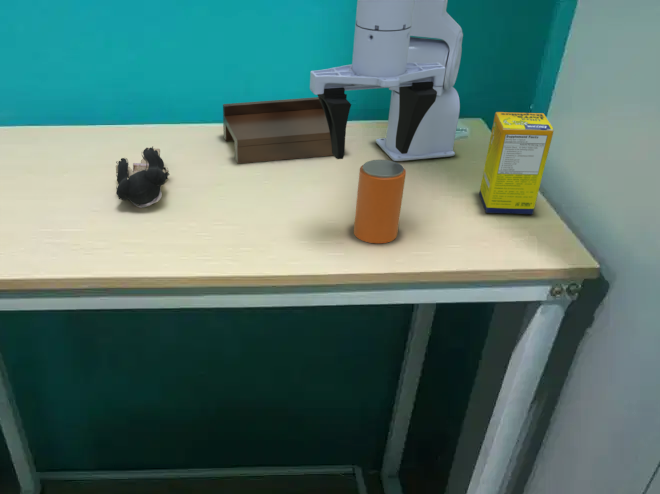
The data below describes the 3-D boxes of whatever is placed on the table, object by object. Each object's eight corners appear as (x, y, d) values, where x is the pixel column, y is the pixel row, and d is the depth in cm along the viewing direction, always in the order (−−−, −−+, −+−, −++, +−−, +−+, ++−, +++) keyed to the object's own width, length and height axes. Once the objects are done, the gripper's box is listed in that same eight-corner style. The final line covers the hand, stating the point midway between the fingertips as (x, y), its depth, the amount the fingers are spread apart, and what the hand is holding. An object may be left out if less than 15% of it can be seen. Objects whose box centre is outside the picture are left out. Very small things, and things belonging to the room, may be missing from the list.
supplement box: (523, 195, 97) (544, 111, 90) (533, 215, 92) (555, 129, 85) (477, 193, 97) (494, 110, 90) (484, 213, 92) (503, 127, 86)
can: (388, 221, 91) (396, 156, 86) (403, 241, 87) (413, 174, 82) (347, 225, 90) (353, 160, 85) (361, 245, 86) (369, 178, 81)
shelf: (322, 128, 116) (324, 96, 113) (344, 154, 108) (346, 120, 105) (223, 136, 114) (222, 103, 111) (237, 163, 105) (237, 129, 102)
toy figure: (115, 170, 104) (115, 211, 92) (116, 125, 101) (115, 162, 89) (166, 173, 106) (172, 214, 93) (168, 129, 102) (174, 166, 90)
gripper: (326, 38, 71) (318, 172, 80) (465, 30, 73) (443, 161, 82) (307, 21, 77) (301, 148, 85) (437, 14, 79) (419, 138, 87)
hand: (369, 153), depth 84 cm, fingers open, 7 cm apart
